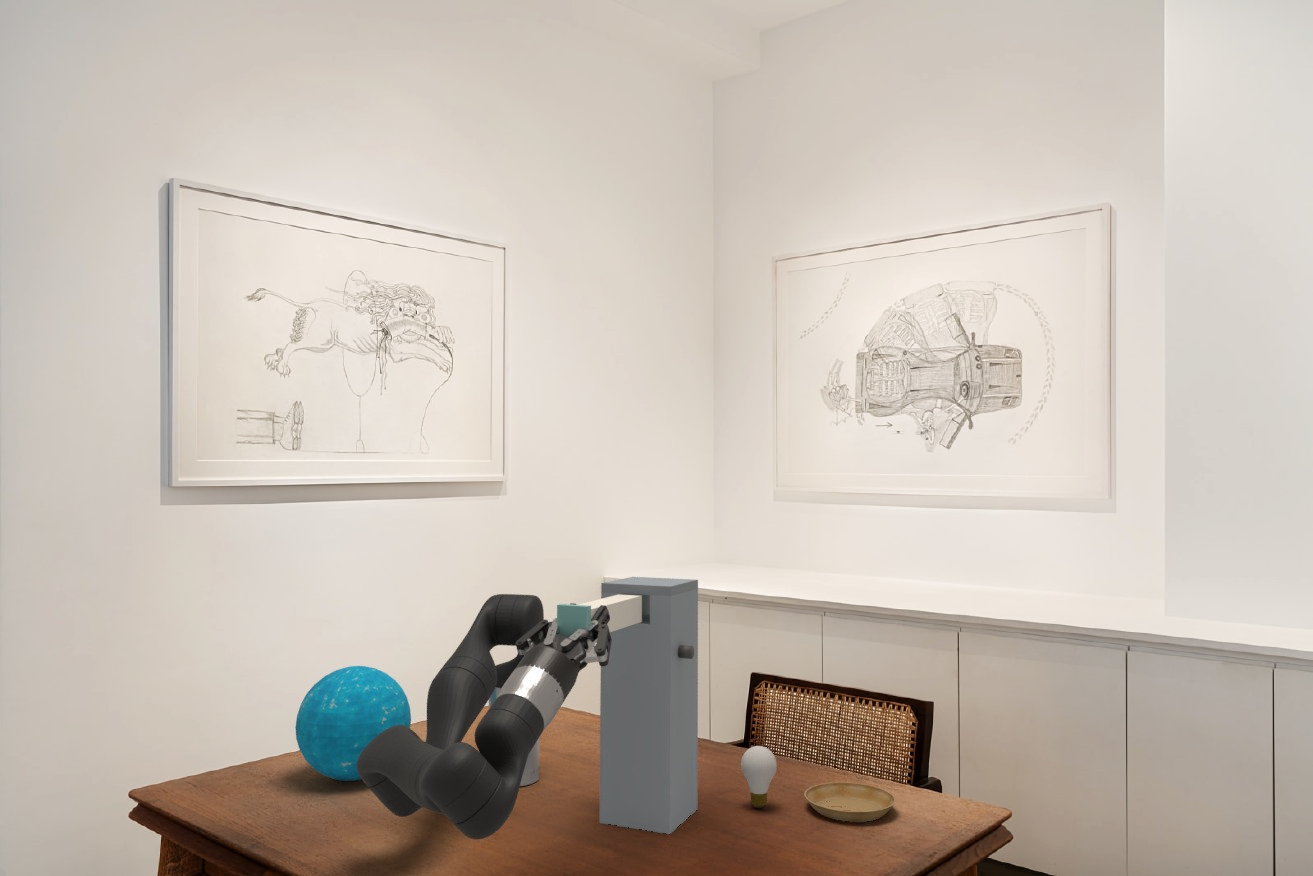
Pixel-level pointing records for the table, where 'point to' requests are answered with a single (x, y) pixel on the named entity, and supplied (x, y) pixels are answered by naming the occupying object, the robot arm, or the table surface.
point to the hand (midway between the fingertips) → (589, 609)
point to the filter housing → (651, 709)
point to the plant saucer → (850, 801)
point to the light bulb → (758, 772)
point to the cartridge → (579, 616)
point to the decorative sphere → (348, 718)
